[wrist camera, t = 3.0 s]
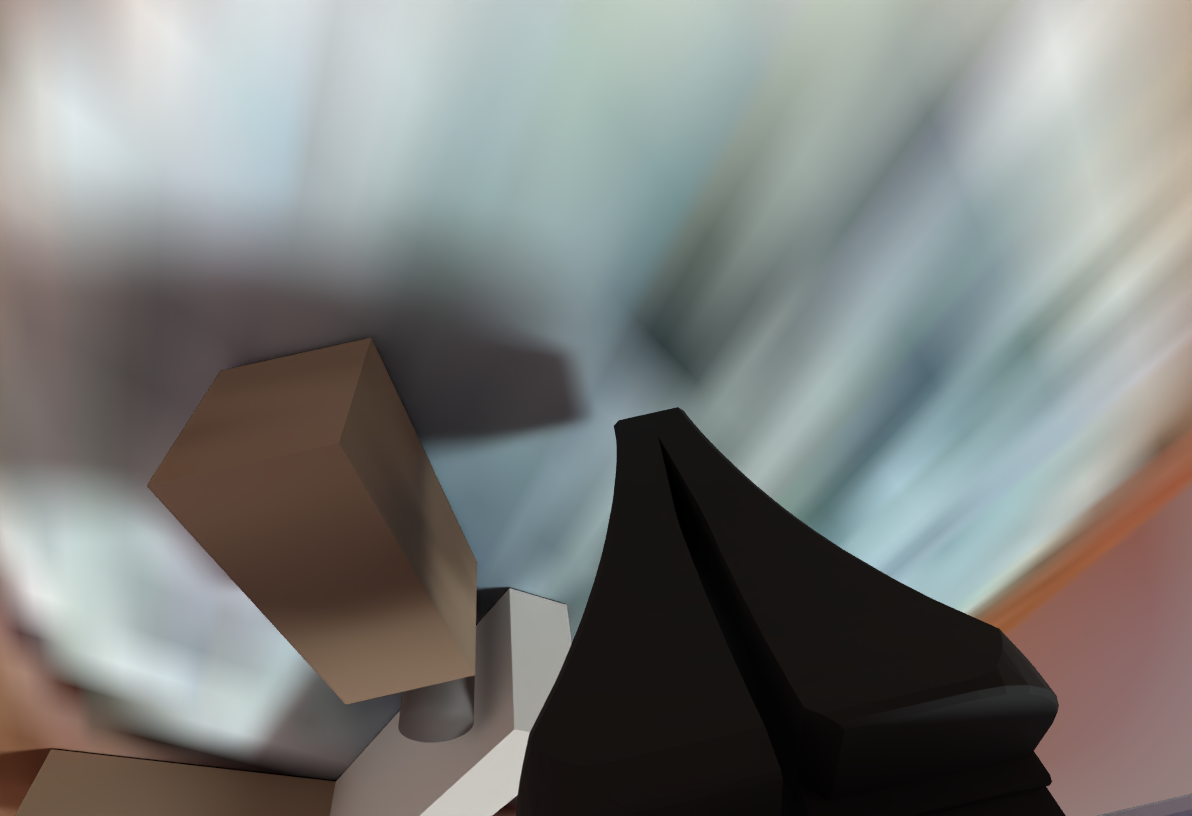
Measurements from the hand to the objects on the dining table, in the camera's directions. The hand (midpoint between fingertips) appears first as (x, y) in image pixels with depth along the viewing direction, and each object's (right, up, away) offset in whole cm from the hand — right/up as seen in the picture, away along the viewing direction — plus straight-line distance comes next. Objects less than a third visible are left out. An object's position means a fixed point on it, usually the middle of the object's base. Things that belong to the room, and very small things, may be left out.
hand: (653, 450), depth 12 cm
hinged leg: (-6, -2, +2) cm, 7 cm away
